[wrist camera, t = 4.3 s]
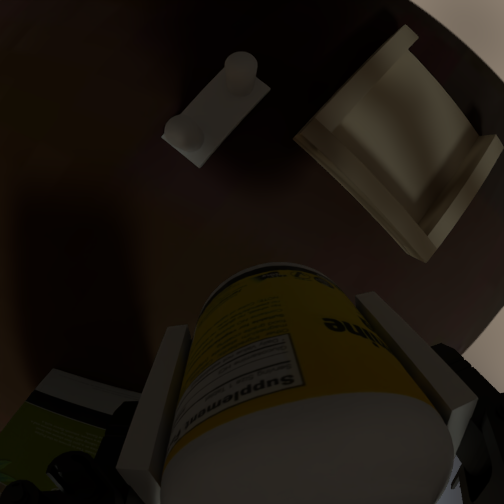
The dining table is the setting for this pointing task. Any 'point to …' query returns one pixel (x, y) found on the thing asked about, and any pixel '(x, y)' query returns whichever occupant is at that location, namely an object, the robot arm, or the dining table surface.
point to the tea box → (57, 426)
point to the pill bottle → (299, 403)
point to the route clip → (217, 109)
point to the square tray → (401, 147)
